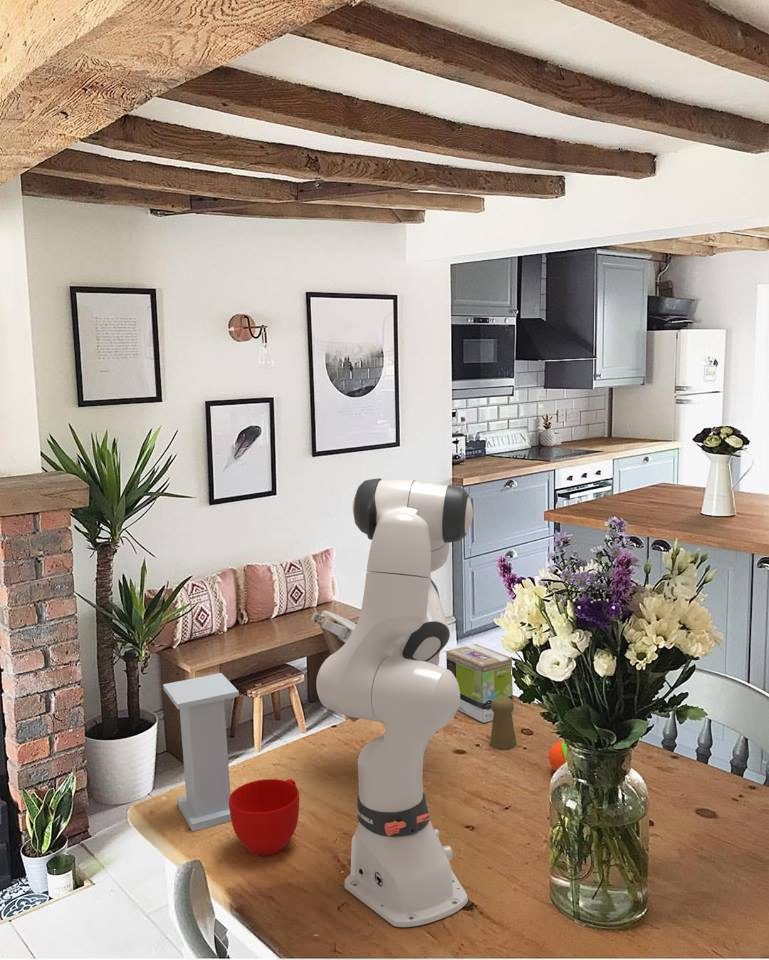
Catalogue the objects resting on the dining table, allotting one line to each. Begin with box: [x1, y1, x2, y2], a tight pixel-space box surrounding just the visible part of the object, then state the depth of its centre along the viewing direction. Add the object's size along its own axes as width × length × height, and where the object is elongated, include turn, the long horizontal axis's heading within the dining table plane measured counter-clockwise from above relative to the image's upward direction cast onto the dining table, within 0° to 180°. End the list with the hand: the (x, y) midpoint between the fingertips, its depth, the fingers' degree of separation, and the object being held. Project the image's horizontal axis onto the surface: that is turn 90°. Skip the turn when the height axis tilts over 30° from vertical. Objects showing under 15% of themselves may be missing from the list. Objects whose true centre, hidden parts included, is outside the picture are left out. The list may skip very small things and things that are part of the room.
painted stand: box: [162, 672, 240, 832], centre depth 178 cm, size 12×12×26 cm
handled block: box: [319, 616, 360, 723], centre depth 190 cm, size 8×22×5 cm
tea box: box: [445, 643, 514, 723], centre depth 224 cm, size 15×10×15 cm, turn 32°
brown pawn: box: [489, 696, 517, 751], centre depth 204 cm, size 6×6×11 cm
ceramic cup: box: [229, 778, 300, 856], centre depth 168 cm, size 13×17×10 cm
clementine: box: [548, 740, 567, 772], centre depth 189 cm, size 8×7×7 cm
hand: (318, 620), depth 186 cm, fingers closed on handled block, 4 cm apart
